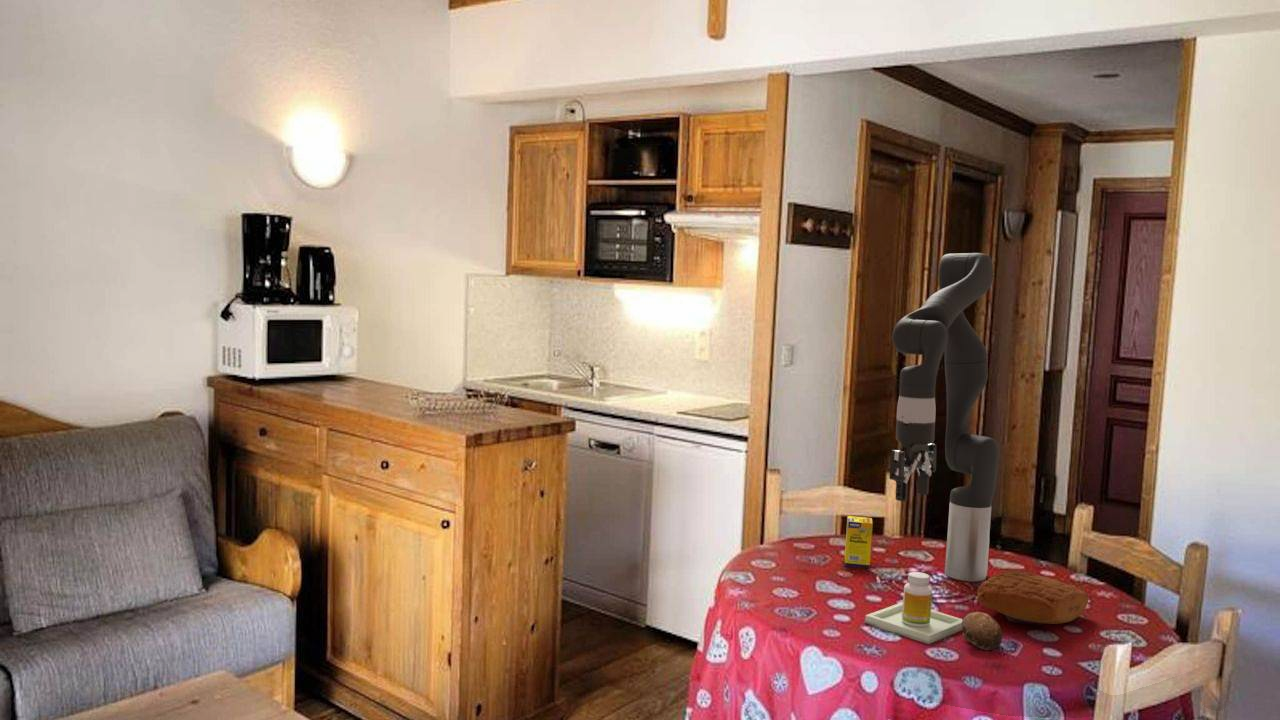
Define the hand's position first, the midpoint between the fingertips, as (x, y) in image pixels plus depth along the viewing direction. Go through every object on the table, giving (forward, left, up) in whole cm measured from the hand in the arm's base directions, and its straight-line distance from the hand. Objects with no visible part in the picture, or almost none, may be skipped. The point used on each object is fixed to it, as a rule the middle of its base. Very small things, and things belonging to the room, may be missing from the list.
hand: (912, 497), depth 200 cm
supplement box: (-21, -26, -24) cm, 41 cm away
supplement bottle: (+5, +6, -24) cm, 25 cm away
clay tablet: (-18, +18, -24) cm, 35 cm away
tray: (+6, +6, -24) cm, 25 cm away
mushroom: (+5, +19, -24) cm, 31 cm away
